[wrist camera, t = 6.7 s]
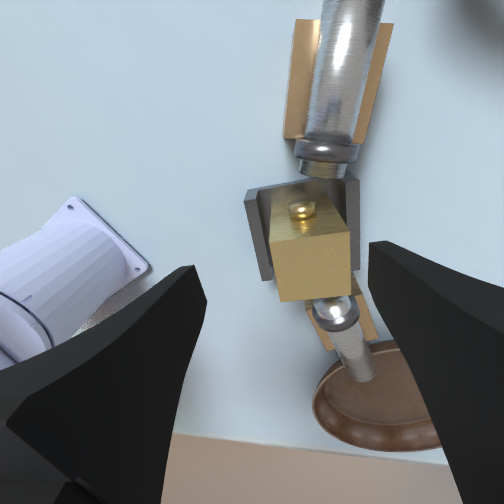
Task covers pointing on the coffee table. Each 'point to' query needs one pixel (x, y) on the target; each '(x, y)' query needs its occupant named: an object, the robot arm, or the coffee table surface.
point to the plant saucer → (376, 406)
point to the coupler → (310, 250)
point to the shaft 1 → (334, 84)
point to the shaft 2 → (346, 330)
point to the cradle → (338, 190)
